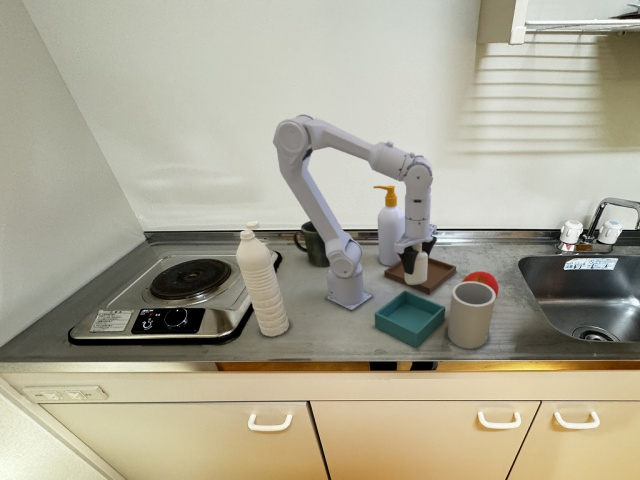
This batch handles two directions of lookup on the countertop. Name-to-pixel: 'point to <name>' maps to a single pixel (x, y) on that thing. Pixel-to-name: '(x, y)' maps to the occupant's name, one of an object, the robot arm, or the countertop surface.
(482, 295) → the cup
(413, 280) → the eye dropper bottle
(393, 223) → the soap bottle
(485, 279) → the apple
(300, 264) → the countertop surface
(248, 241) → the water bottle
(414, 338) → the bin
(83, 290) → the countertop surface
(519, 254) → the countertop surface
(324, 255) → the mug
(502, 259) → the countertop surface
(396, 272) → the tray
